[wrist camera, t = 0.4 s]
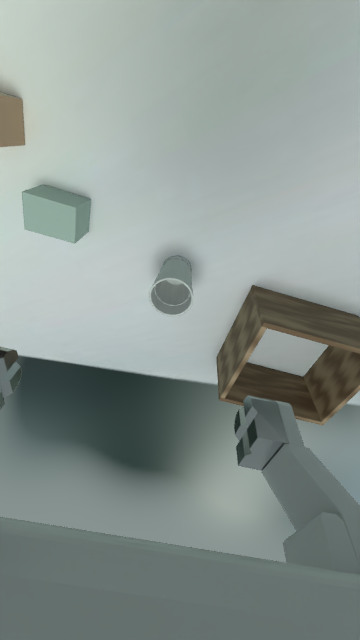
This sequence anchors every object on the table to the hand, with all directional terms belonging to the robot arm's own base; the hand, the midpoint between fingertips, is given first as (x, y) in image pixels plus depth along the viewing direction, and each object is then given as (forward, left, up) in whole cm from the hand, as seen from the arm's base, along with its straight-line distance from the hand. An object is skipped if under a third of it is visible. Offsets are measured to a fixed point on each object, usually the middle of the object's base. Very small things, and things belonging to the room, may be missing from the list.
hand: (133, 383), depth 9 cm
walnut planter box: (+27, +32, -47) cm, 63 cm away
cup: (+17, +2, -47) cm, 50 cm away
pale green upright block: (+11, -22, -47) cm, 53 cm away
